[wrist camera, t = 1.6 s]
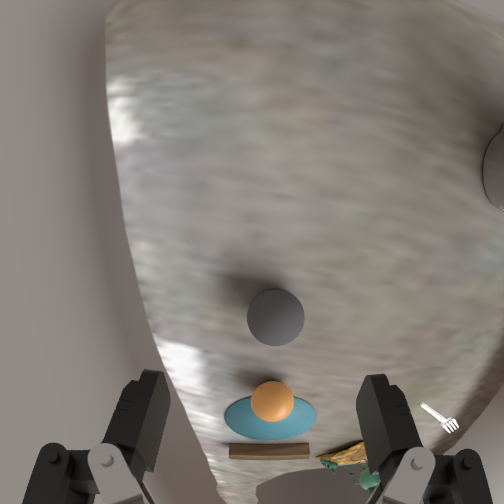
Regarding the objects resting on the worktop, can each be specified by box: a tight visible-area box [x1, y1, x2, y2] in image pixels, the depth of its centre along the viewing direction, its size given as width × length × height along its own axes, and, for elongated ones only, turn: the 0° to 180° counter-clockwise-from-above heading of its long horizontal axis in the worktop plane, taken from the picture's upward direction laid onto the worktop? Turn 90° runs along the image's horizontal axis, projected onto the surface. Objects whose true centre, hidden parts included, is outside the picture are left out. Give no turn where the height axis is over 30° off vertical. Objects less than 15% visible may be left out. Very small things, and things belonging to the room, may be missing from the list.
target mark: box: [225, 397, 316, 440], centre depth 41 cm, size 14×14×1 cm
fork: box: [420, 402, 459, 433], centre depth 42 cm, size 3×20×2 cm, turn 49°
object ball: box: [251, 381, 294, 422], centre depth 35 cm, size 6×6×6 cm
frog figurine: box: [316, 442, 380, 494], centre depth 41 cm, size 10×18×15 cm, turn 89°
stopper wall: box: [229, 443, 310, 460], centre depth 44 cm, size 2×14×2 cm, turn 91°
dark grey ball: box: [247, 289, 304, 346], centre depth 29 cm, size 6×6×6 cm
